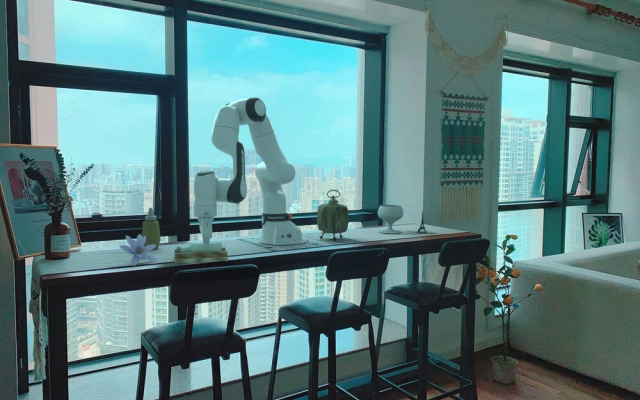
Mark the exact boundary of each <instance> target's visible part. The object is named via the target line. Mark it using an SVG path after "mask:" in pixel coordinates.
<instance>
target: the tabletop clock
mask: <svg viewBox="0 0 640 400" xmlns="http://www.w3.org/2000/svg"><path fill="white" fill-rule="evenodd" d="M331 192H337V193H338V195H337V196H335V195H334V194H333V195H332V196H329V193H331ZM326 196H327V197H328V198H330V199H329V200H328V202H327V203H322V204H320V205H318V208H317V212H316V224H317V225H316V226H317V229H318V231H320V232H322V234H321V235H320V236H319V239H320V240H323V238H324V235H326V234H333V237H332V240H333V241H336V240H337V237H336V234H339V239H343V235H342V233H345V232H347V231H348V228H349V223H350V222H349V221H350V215H349V213H350V212H349V209H348V206H347V205H343V204H341V203H339V200H338V199H337V198H339V197H340V196H341V193H340V191H339V190H338V189H329V190H328V191H327V193H326Z"/></svg>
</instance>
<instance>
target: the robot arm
mask: <svg viewBox="0 0 640 400" xmlns="http://www.w3.org/2000/svg"><path fill="white" fill-rule="evenodd" d="M245 125H247V126H248V129H249V134H250V137H251V140H252V144H253V147H254V150H255V153H256V155H258V156H259V157H260V159H261V160H262V162H260V163H258V164H257V165H256V166H255V170H254V174H255V175H254V176H255V177H256V179H257V180H258V182H259V186H260V189H261V194H262V213H261V224H262V228H261V235H260V238H259V242H260V243H261V244H265V245H274V246H284V245H298V244H306V243H307V239H306V238H305V237H303V235H302V229H301V228H300V227H299V226H297V225H296V223H294V222H292V221H291V219H293V217H294V216H293V215H292V214H291V213H290V214H289V213H288V212H287V196H286V194H285V193H284V191H283V188H282V185H287V184H290V183H292V182H293V181H294V179H295V176H296V169H295V166H294V165H293V164H291V163H290V161H289V160H288V159H287V157H286V156H285V154H284V152H283V151H282V149H281V147H280V144H279V142H278V138H277V136H276V133H275V129H274V125H273V123H272V121H271V119H270V117H269V115H268V113H267V107H266V104H265V102H264V100H262V99H261V98H259V97H256V96H253V97H251V96H250V97H247V98H240V99H238V100H235V101H232V102H228V103H227V104H225V105H224V106H221V107H220V108H219V109H218V110H217V112H216V115H215V117H214V121H213V126H212V130H211V142H212V145H213V146H214V147H215V148H216V149H217V150H219V151H220V152H222V153H224V154H227V155H228V156H230V157H231V158H232V173H233V174H232V177H231V178H219V177H217V176H216V172H215V171H213V170H200V171H198V172H196V173H195V175H194V181H193V195H194V202H193V216H194V217H195V218H196V219H197V221H198V227H199V231H200V235H201V237H202V243H204V248H205V249H208V248H209V243H210V239H212V238H213V222H212V221H214V219H215V217H218V202H219V203H230V204H236V205H238V204H240V203H242V202H243V201H244V200H245V199H246V197H247V195H248V194H247V193H248V192H247V191H248V189H247V181H246V157H245V156H246V153H245V147H244V144H243V143H242V142H241V141H240V139H239V135H240V133H239V132H240V126H245Z"/></svg>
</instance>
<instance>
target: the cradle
mask: <svg viewBox="0 0 640 400" xmlns="http://www.w3.org/2000/svg"><path fill="white" fill-rule="evenodd" d="M228 261H229V257H228V250H226V246H222V251H214V252H191V253H177V248H175V249H174V264H190V263H211V262H215V263H216V262H228Z"/></svg>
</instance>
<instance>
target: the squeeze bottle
mask: <svg viewBox="0 0 640 400" xmlns="http://www.w3.org/2000/svg"><path fill="white" fill-rule="evenodd" d="M153 210H154V209H153V207H148V213H147V215H146V216H144V221H142V230H141V231H142V232H141V236H142V238H143V237H144V236H146V241H145V244H144V246H143V247H145V246H147V245H152V244H154V245H156V247H155V248H154V249H153V250H156V249H159V246H160V243H161V241H162V238H161V233H160V224H159V222H160V221H158V220H157V215H154V211H153Z"/></svg>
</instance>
